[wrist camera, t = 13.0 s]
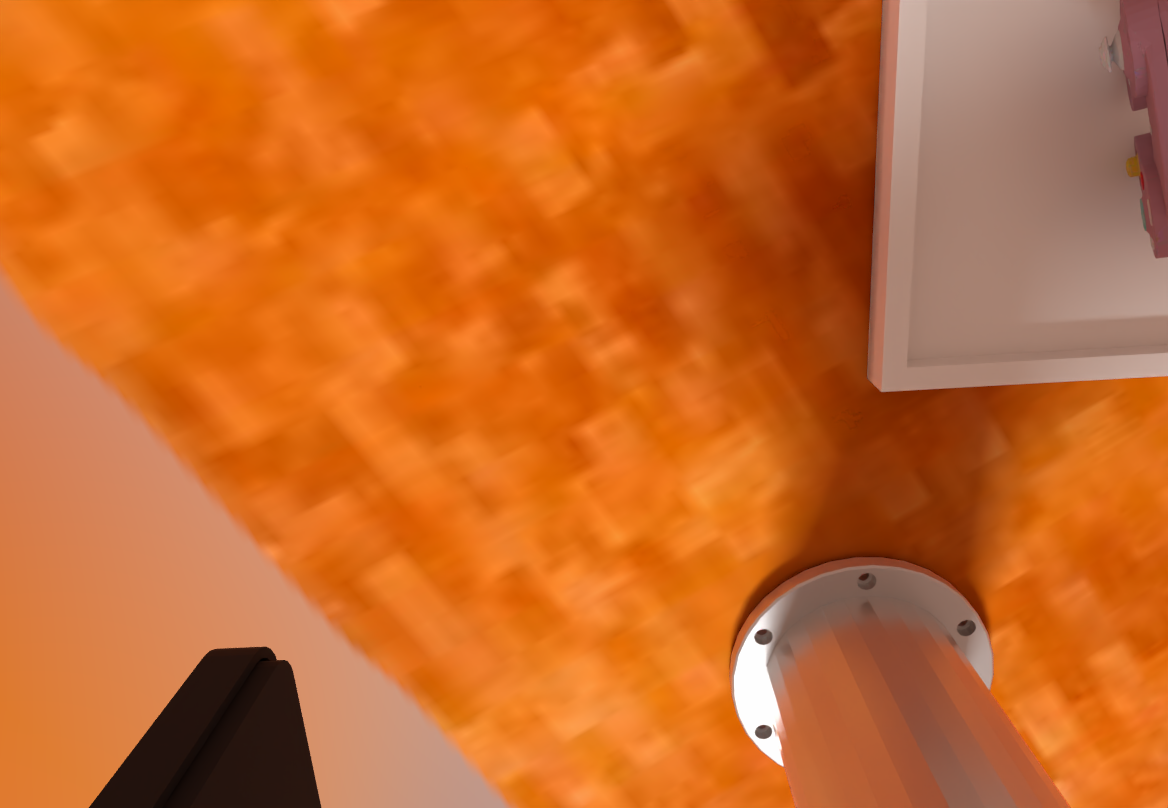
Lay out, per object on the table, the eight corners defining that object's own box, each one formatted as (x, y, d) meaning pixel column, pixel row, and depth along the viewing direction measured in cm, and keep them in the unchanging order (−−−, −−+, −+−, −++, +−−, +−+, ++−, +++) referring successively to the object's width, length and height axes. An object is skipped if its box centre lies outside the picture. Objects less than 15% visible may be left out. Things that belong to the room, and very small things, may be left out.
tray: (1334, 351, 36) (1375, 364, 34) (866, 378, 37) (881, 392, 35) (1455, -190, 30) (1514, -212, 28) (888, -143, 30) (907, -161, 28)
